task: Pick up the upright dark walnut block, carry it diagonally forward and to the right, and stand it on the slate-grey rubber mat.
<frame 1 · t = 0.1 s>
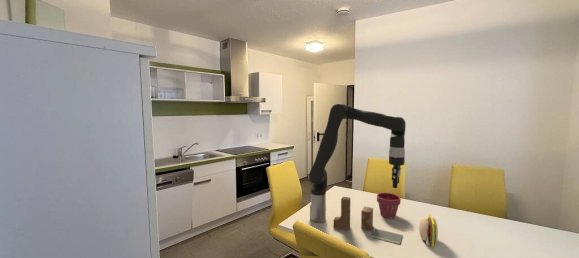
hand: (395, 185, 127), 29 cm above the table, fingers open, 8 cm apart
wooden block: (341, 227, 143), on the table
walnut block: (367, 227, 142), on the table
plant pot: (388, 215, 157), on the table
hamburger: (427, 240, 127), on the table
mat: (387, 236, 131), on the table
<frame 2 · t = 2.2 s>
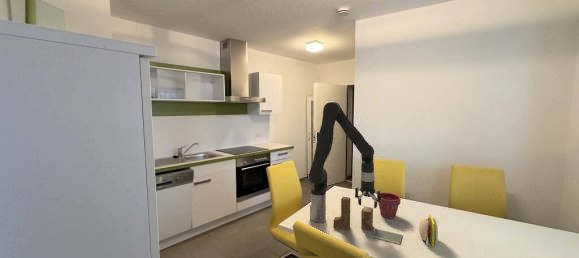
hand: (367, 206, 140), 13 cm above the table, fingers open, 8 cm apart
nothing on the table moved.
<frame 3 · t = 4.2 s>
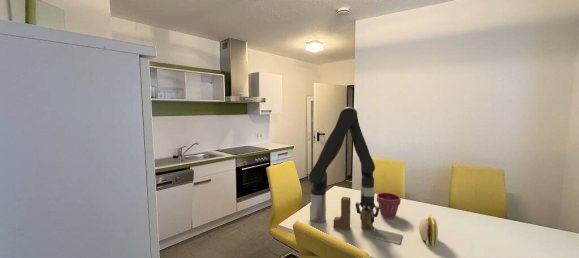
hand: (367, 221, 142), 3 cm above the table, fingers closed on walnut block, 5 cm apart
walnut block: (367, 227, 142), on the table, touching gripper
everything else where it was.
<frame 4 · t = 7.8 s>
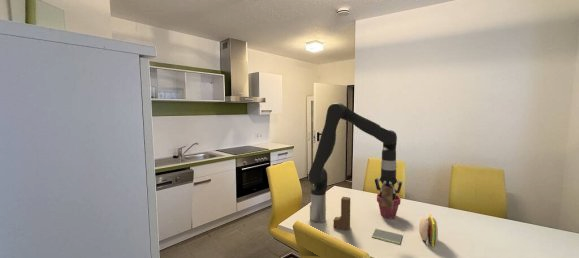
hand: (387, 198, 130), 21 cm above the table, fingers closed on walnut block, 5 cm apart
walnut block: (387, 204, 130), point 18 cm above the table, touching gripper
everything else where it was.
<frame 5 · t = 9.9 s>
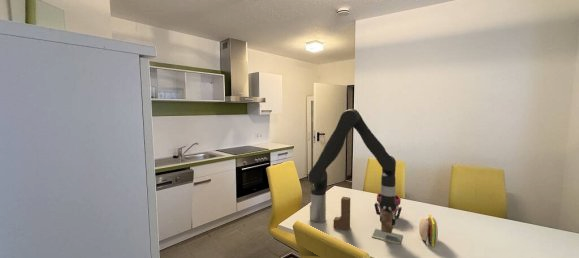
hand: (387, 223, 131), 7 cm above the table, fingers closed on walnut block, 5 cm apart
walnut block: (387, 229, 131), point 4 cm above the table, touching gripper
everything else where it was.
when the fingers open (5 cm above the table, at t = 11.4 s): walnut block drops 1 cm, resting on mat.
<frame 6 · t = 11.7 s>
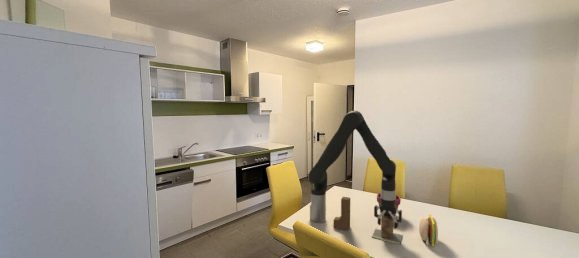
hand: (387, 226, 131), 6 cm above the table, fingers open, 7 cm apart
walnut block: (387, 235, 131), point 1 cm above the table, touching mat
everything else where it was.
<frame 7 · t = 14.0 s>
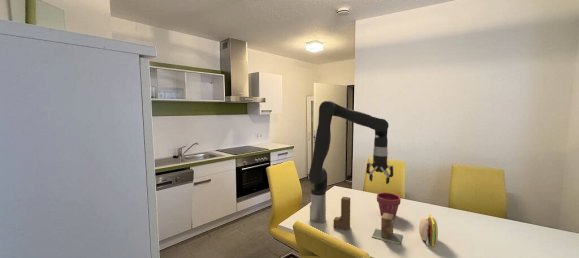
hand: (379, 182, 137), 28 cm above the table, fingers open, 8 cm apart
nothing on the table moved.
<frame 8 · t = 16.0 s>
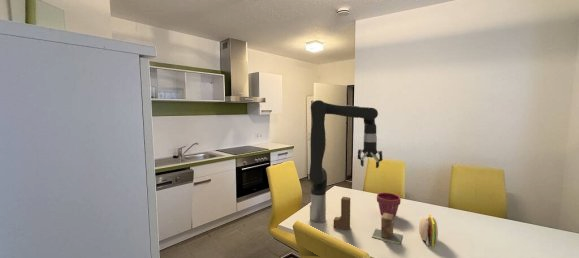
hand: (369, 167, 147), 34 cm above the table, fingers open, 8 cm apart
nothing on the table moved.
at the end: walnut block inside the target area on the mat (0.1 cm from its centre), point 0.6 cm above the mat's base; walnut block tilted 0°; the gripper is holding nothing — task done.
